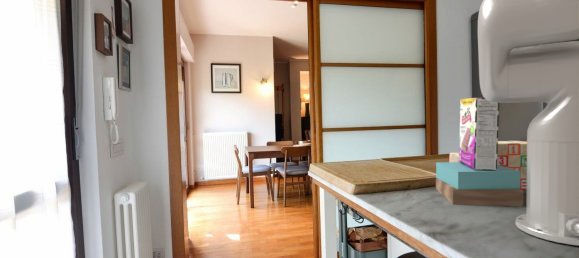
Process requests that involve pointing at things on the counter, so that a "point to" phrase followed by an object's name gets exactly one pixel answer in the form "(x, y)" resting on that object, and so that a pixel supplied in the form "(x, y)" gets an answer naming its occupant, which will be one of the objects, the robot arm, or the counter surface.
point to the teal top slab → (477, 177)
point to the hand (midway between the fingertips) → (546, 43)
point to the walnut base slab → (480, 196)
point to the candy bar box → (479, 133)
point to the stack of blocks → (509, 158)
